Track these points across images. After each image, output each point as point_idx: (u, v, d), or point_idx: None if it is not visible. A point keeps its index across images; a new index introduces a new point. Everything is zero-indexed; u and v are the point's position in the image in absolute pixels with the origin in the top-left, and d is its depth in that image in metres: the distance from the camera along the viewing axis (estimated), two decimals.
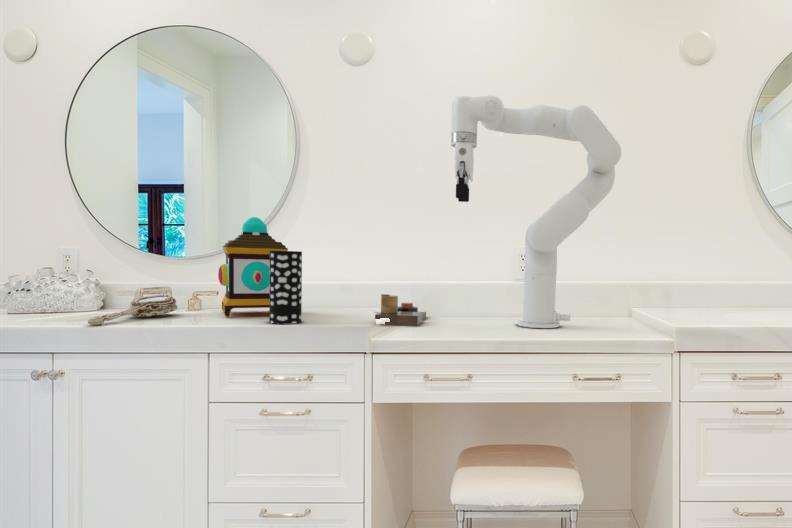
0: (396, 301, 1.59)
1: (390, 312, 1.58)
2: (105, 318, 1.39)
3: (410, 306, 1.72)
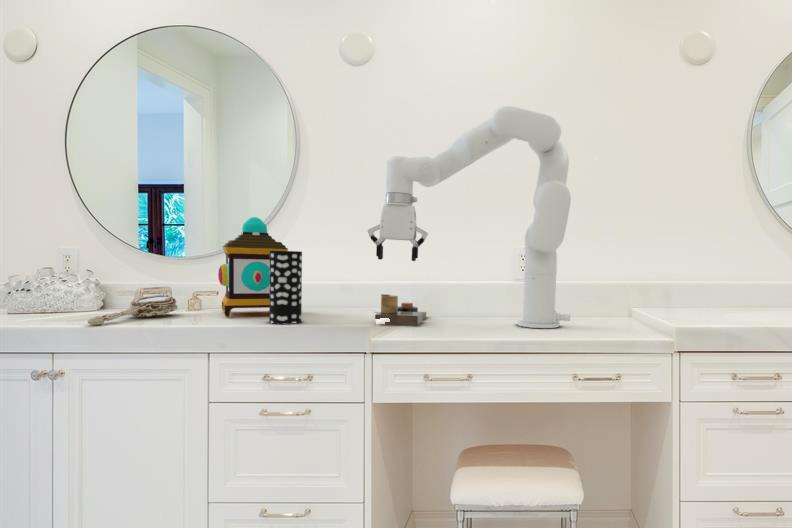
0: (396, 301, 1.59)
1: (390, 312, 1.58)
2: (105, 318, 1.39)
3: (410, 306, 1.72)
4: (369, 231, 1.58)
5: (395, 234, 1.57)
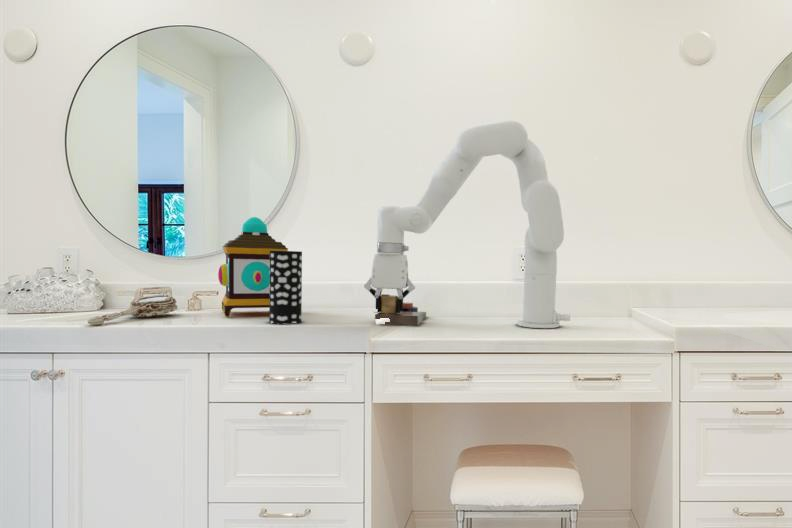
0: (396, 301, 1.59)
1: (390, 312, 1.58)
2: (105, 318, 1.39)
3: (410, 306, 1.72)
4: (366, 286, 1.59)
5: (387, 283, 1.57)
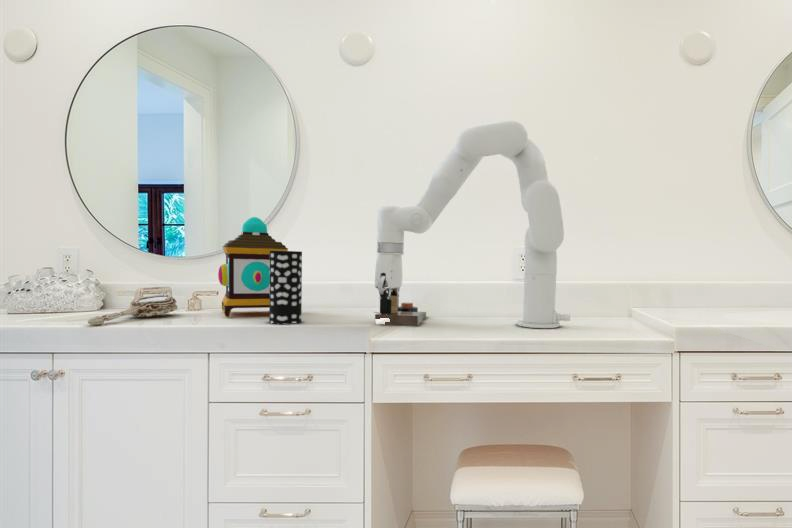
0: None
1: (397, 311, 1.60)
2: (105, 318, 1.39)
3: (410, 306, 1.72)
4: (382, 288, 1.53)
5: (396, 283, 1.59)
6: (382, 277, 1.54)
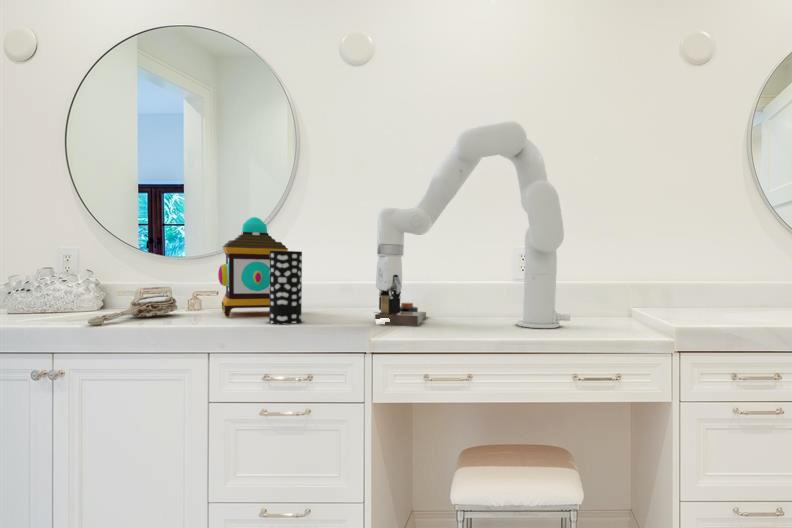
0: None
1: None
2: (105, 318, 1.39)
3: (410, 306, 1.72)
4: None
5: None
6: (395, 277, 1.55)
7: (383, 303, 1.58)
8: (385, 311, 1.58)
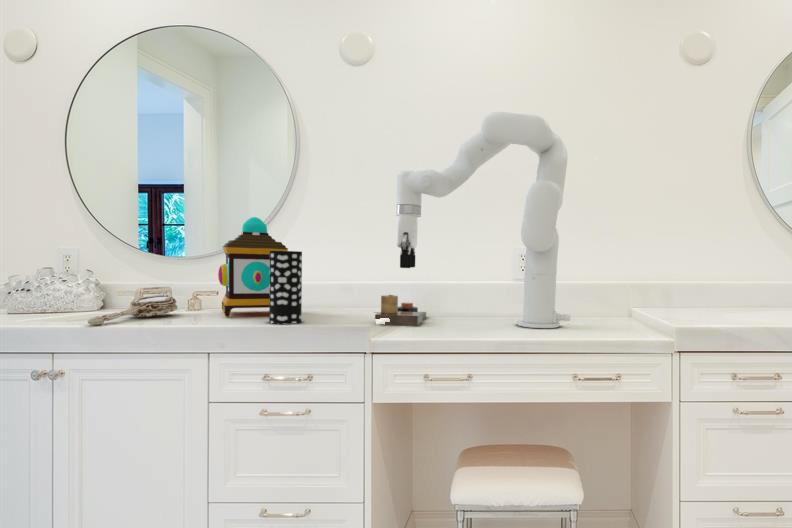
0: None
1: None
2: (105, 318, 1.39)
3: (410, 306, 1.72)
4: (406, 242, 1.64)
5: (415, 243, 1.71)
6: (405, 234, 1.66)
7: (383, 303, 1.58)
8: (385, 311, 1.58)
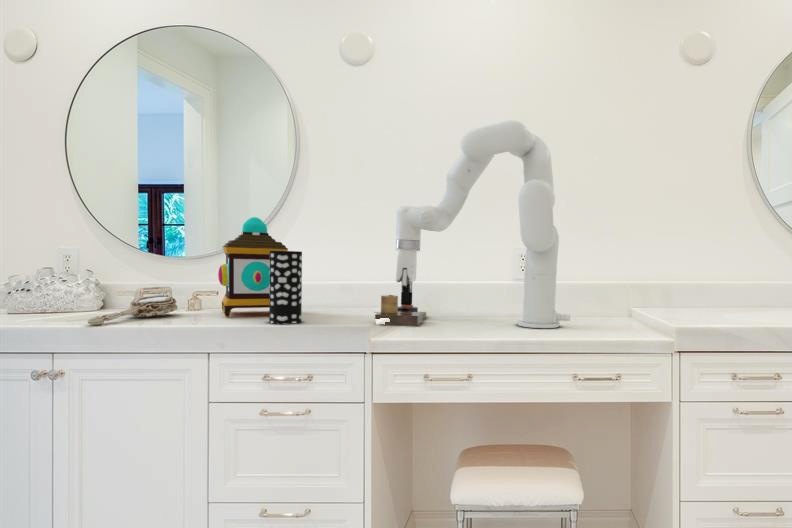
0: None
1: None
2: (105, 318, 1.39)
3: None
4: (406, 284, 1.68)
5: (414, 277, 1.72)
6: (404, 273, 1.68)
7: (383, 303, 1.58)
8: (385, 311, 1.58)
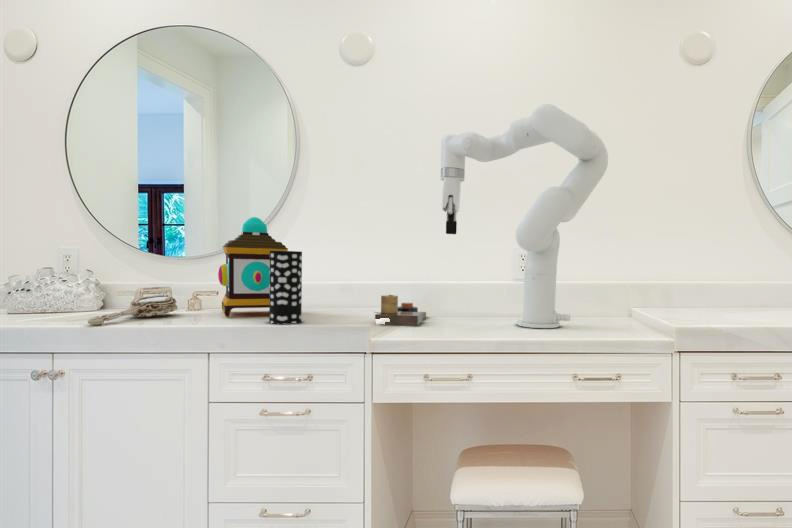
0: None
1: None
2: (105, 318, 1.39)
3: (410, 306, 1.72)
4: (452, 211, 1.70)
5: (458, 207, 1.74)
6: (450, 201, 1.69)
7: (383, 303, 1.58)
8: (385, 311, 1.58)
